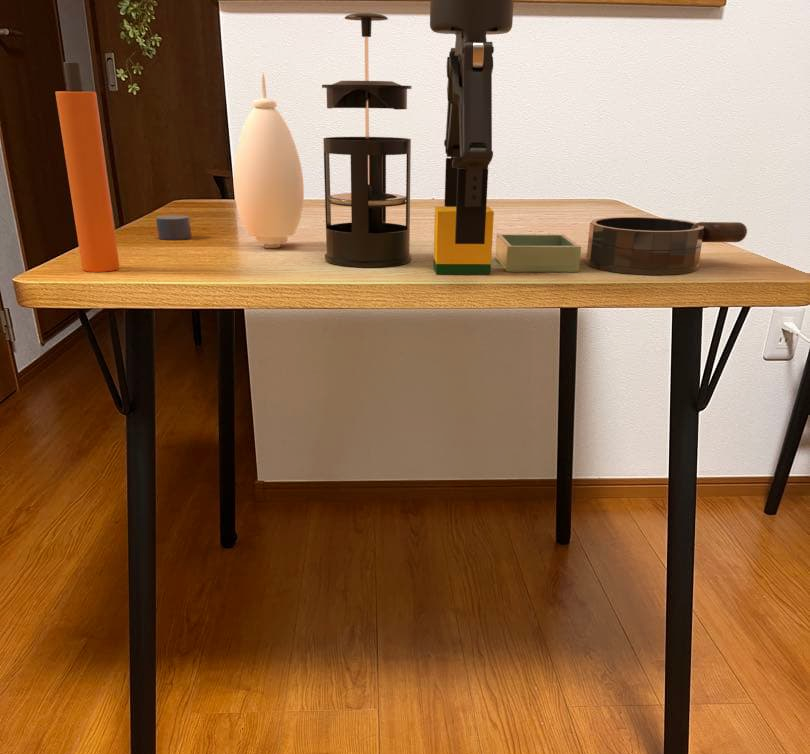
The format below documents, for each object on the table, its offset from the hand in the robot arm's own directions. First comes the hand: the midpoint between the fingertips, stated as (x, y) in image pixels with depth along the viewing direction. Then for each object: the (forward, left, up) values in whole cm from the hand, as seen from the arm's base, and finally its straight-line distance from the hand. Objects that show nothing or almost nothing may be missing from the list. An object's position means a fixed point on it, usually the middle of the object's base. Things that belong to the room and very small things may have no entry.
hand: (462, 233), depth 88 cm
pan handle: (-18, -21, -1) cm, 28 cm away
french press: (+12, +1, -4) cm, 12 cm away
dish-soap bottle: (+28, +23, -4) cm, 37 cm away
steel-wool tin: (+40, +5, -4) cm, 40 cm away
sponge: (0, 0, -4) cm, 4 cm away
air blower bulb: (+26, +2, -4) cm, 26 cm away
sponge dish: (-4, -8, -4) cm, 10 cm away
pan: (-13, -16, -4) cm, 20 cm away
